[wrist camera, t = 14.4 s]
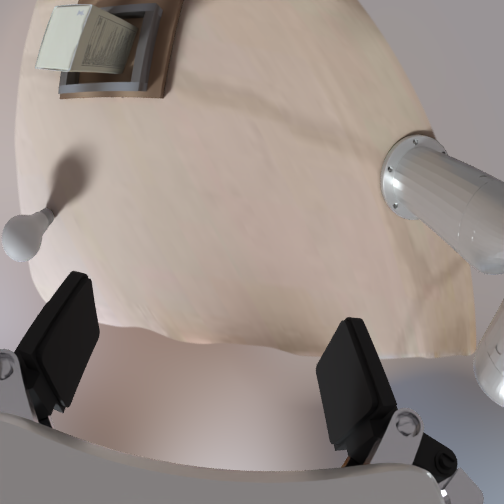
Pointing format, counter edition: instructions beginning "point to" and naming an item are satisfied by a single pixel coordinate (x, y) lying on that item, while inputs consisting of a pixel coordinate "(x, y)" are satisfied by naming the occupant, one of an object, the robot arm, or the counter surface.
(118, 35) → the skincare box
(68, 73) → the holder board
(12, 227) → the lightbulb
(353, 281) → the counter surface
